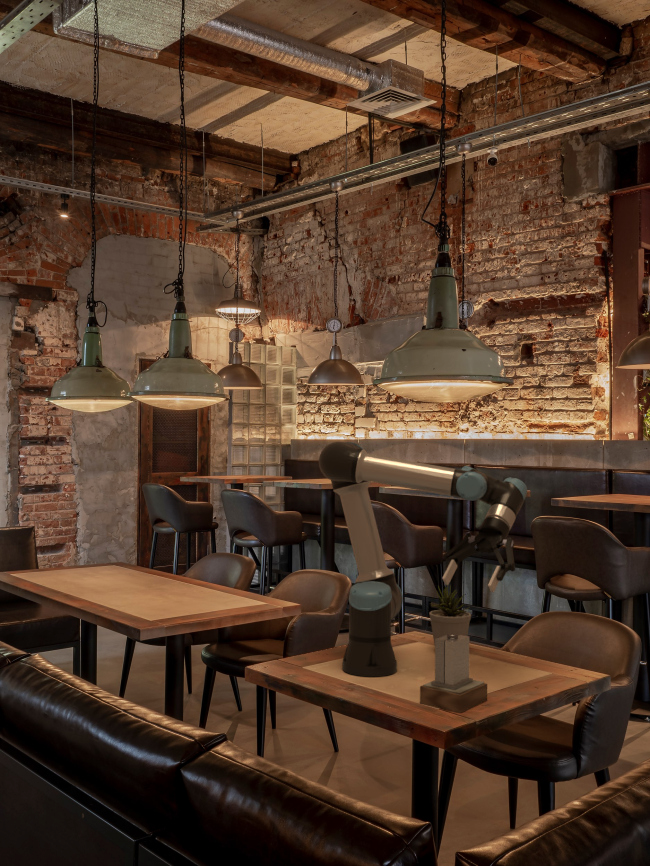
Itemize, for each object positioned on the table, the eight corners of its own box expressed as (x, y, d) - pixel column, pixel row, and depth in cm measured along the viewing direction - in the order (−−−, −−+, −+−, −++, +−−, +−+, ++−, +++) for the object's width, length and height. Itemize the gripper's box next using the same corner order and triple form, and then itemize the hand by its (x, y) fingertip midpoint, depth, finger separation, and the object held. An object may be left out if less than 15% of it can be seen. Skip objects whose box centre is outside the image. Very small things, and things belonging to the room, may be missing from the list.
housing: (431, 685, 191) (431, 635, 191) (449, 677, 198) (449, 629, 199) (455, 690, 187) (455, 639, 187) (472, 681, 194) (473, 633, 195)
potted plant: (481, 651, 244) (481, 585, 244) (454, 659, 234) (454, 590, 235) (447, 644, 253) (448, 580, 253) (420, 651, 243) (421, 585, 244)
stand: (420, 703, 191) (420, 684, 191) (447, 691, 201) (447, 673, 201) (460, 713, 184) (460, 693, 184) (487, 700, 194) (487, 682, 194)
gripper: (543, 538, 213) (515, 601, 202) (462, 529, 230) (432, 587, 218) (535, 519, 210) (506, 582, 198) (453, 512, 226) (422, 569, 214)
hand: (467, 585), depth 208 cm, fingers open, 13 cm apart
